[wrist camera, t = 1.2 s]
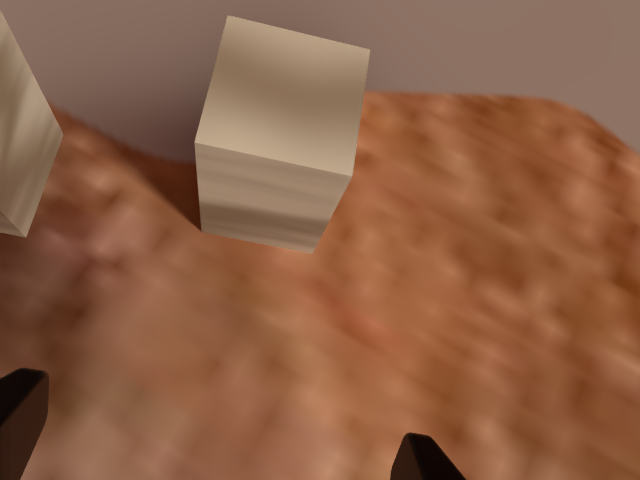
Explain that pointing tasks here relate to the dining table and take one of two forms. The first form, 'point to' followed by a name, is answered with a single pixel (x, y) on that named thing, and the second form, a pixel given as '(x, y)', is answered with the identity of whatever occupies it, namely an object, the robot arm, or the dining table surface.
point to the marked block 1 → (22, 138)
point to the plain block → (278, 134)
